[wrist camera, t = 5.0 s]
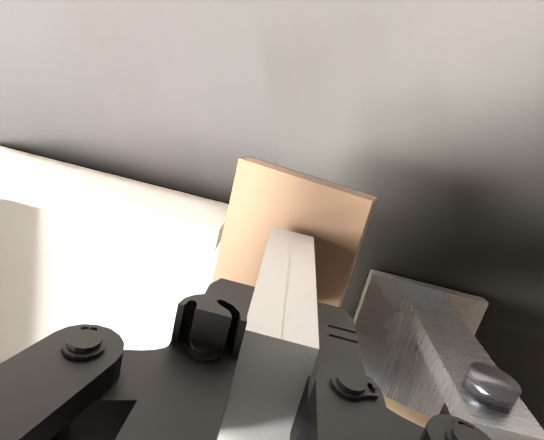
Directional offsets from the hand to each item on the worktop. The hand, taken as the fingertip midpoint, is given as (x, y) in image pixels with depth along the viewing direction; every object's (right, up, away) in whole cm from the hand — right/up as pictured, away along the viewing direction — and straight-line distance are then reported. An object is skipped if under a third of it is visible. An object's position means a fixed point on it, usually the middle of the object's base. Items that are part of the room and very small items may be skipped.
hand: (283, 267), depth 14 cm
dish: (-10, -2, +8) cm, 13 cm away
